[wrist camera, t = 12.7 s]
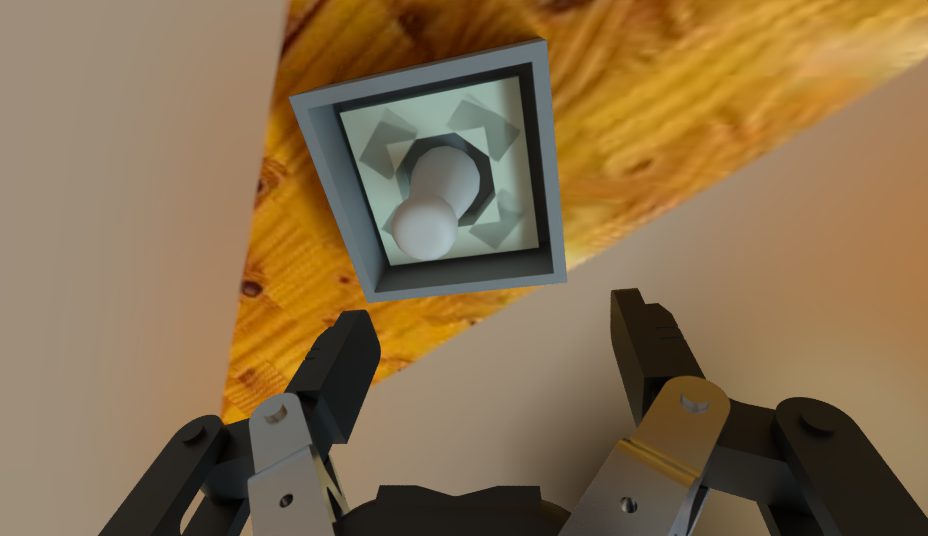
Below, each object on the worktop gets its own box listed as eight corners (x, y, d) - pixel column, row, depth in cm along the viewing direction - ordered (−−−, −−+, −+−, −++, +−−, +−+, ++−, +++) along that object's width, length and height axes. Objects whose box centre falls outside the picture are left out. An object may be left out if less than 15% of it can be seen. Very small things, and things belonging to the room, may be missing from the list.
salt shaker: (462, 213, 38) (441, 290, 27) (408, 184, 37) (362, 251, 26) (493, 159, 35) (483, 221, 24) (435, 126, 34) (397, 175, 23)
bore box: (327, 84, 35) (288, 96, 29) (540, 37, 31) (546, 40, 25) (388, 264, 43) (367, 303, 37) (559, 243, 40) (567, 282, 34)
